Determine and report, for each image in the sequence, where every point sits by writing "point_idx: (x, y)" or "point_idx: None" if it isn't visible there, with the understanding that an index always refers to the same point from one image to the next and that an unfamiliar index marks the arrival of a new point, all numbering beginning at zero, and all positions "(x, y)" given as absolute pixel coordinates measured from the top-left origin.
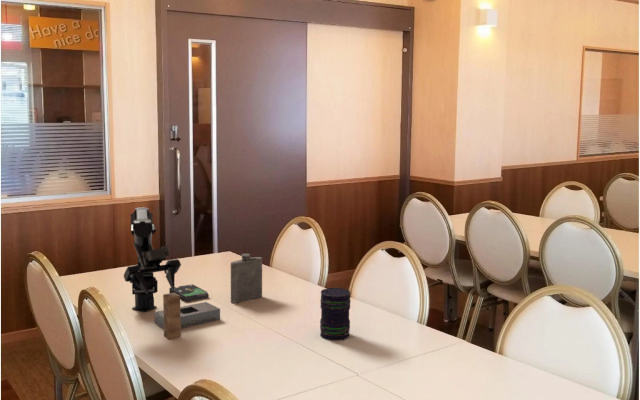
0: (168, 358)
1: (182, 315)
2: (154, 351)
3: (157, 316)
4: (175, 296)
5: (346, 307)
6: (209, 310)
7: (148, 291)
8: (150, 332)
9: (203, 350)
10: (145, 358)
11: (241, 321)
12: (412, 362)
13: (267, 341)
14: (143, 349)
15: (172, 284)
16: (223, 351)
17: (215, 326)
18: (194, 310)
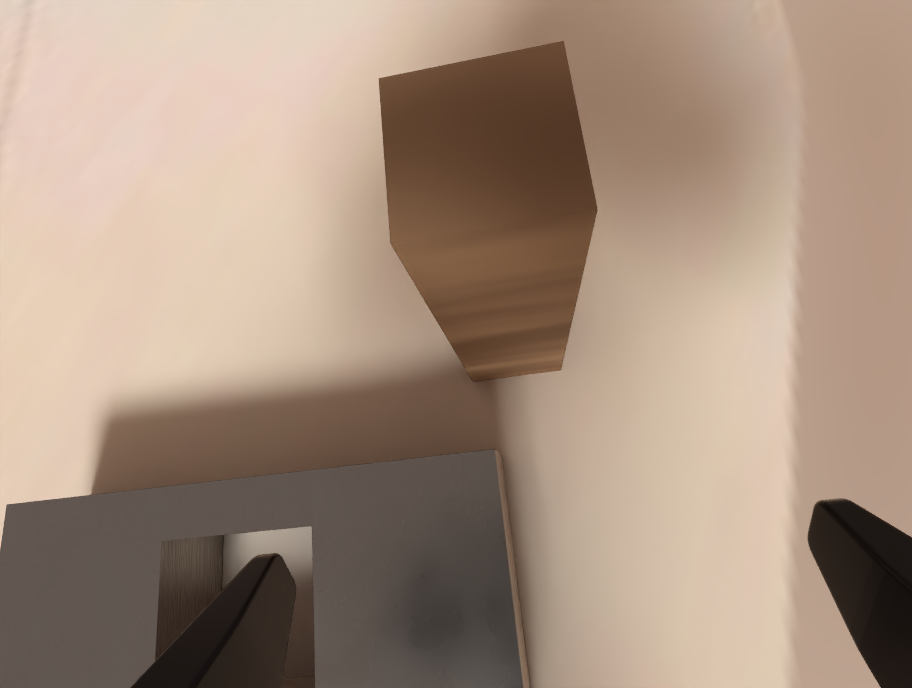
0: (647, 19)
1: (337, 497)
2: (698, 137)
3: (525, 685)
4: (452, 66)
5: None
6: (94, 505)
7: (838, 509)
8: (632, 501)
9: (435, 54)
10: (777, 59)
11: (14, 392)
12: None
13: (115, 51)
14: (760, 194)
15: (243, 612)
16: (354, 10)
17: (187, 384)
18: (170, 643)
